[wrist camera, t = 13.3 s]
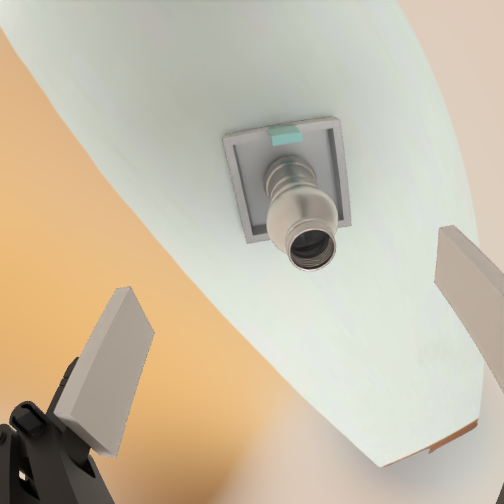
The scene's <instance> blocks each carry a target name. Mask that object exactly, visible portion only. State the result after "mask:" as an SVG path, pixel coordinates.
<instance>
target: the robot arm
mask: <svg viewBox="0 0 504 504" xmlns="http://www.w3.org/2000/svg"><path fill="white" fill-rule="evenodd" d="M434 283H435V284H436V285H437V287H438V288H439V290H440V291H441V292H442V294H443V295H444V297H445V298H446V300H447V301H448V302H449V304H450V305H451V307H452V308H453V310H454V311H455V313H456V314H457V316H458V317H459V319H460V320H461V322H462V323H463V325H464V327H465V328H466V330H467V331H468V333H469V334H470V336H471V338H472V339H473V341H474V342H475V344H476V346H477V347H478V349H479V351H480V352H481V354H482V356H483V357H484V359H485V361H486V362H487V364H488V366H489V368H490V369H491V371H492V373H493V374H494V377H495V378H496V380H497V382H498V384H499V386H500V388H501V389H502V391H503V393H504V274H503V273H502V272H501V271H500V270H499V268H498V267H497V266H496V265H495V264H494V263H493V262H492V261H491V260H490V259H489V258H488V257H487V256H486V255H485V254H484V253H483V252H482V251H481V250H480V249H479V248H478V247H477V246H476V245H475V244H474V243H473V242H471V241H470V240H469V239H468V238H467V237H466V236H465V235H464V234H463V233H462V232H461V231H460V230H459V229H457V228H456V227H455V226H454V225H451V226H446V227H441V228H439V236H438V250H437V261H436V271H435V280H434ZM154 334H155V332H154V330H153V329H152V327H151V325H150V323H149V321H148V319H147V317H146V315H145V313H144V312H143V310H142V308H141V306H140V304H139V302H138V300H137V298H136V296H135V294H134V292H133V290H132V288H131V286H129V287H123V288H117V289H116V290H115V292H114V294H113V295H112V297H111V299H110V301H109V303H108V304H107V306H106V308H105V310H104V311H103V313H102V315H101V317H100V319H99V321H98V322H97V324H96V326H95V328H94V330H93V332H92V334H91V335H90V338H89V339H88V341H87V343H86V345H85V347H84V349H83V351H82V353H81V355H80V357H76V358H75V359H74V361H73V362H72V363H71V364H70V365H69V366H68V368H67V370H66V372H65V374H64V376H63V377H64V379H62V380H61V382H60V387H58V389H57V391H56V393H55V395H54V397H53V400H52V401H51V404H50V406H49V408H48V410H47V412H46V414H44V413H43V412H42V411H41V410H40V409H39V408H38V407H37V406H36V405H35V404H34V403H33V402H31V401H25V402H22V403H20V404H19V405H18V406H17V407H15V409H14V410H13V412H12V413H11V416H10V421H9V423H10V425H11V426H12V427H13V428H15V429H16V430H17V431H16V432H15V431H14V430H13V429H12V428H11V427H10V426H9V425H7V424H1V425H0V504H115V503H114V501H113V499H112V497H111V495H110V493H109V492H108V490H107V487H106V485H105V483H104V481H103V479H102V477H101V475H100V473H99V471H98V468H97V466H96V464H95V462H94V460H93V458H92V457H91V455H89V451H90V448H92V449H93V450H94V451H96V452H97V453H98V454H99V455H103V456H110V457H117V454H118V451H119V447H120V443H121V440H122V436H123V433H124V429H125V426H126V422H127V418H128V415H129V412H130V408H131V405H132V402H133V399H134V395H135V392H136V389H137V385H138V382H139V379H140V376H141V373H142V370H143V367H144V364H145V361H146V358H147V355H148V352H149V349H150V346H151V343H152V340H153V337H154ZM19 471H21V472H22V473H23V474H25V480H23V479H21V478H20V477H19ZM496 504H504V484H503V486H502V489H501V492H500V495H499V497H498V500H497V502H496Z"/></svg>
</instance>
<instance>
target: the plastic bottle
mask: <svg viewBox="0 0 504 504" xmlns="http://www.w3.org/2000/svg"><path fill="white" fill-rule="evenodd" d="M264 190H265V193H266V195H267V197H268V199H269V200H270V207H269V210H268V214H267V221H266V227H267V232H268V235H269V237H270V239H271V241H272V242H273V243H274V245H275V246H276V247H277V248H278V249H279V250H280V251H282V252H283V253H285V254H287V255H288V257H289V259H290V261H291V262H292V264H293V265H294V266H295V267H297V268H298V269H300V270H303V271H315V270H319V269H321V268H323V267H325V266H326V265H327V264H328V263H329V262H330V261H331V260H332V259H333V257H334V255H335V252H336V242H335V239H334V236H335V234H336V230H337V225H338V212H337V208H336V206H335V204H334V202H333V201H332V199H331V198H330V197H329V196H328V195H327V194H326V193H325V192H324V191H323V190H321V189H320V188H319V187H318V186H317V178H316V174H315V171H314V169H313V167H312V166H311V165H310V164H309V163H308V162H307V161H305V160H304V159H301V158H298V157H294V156H287V157H282V158H280V159H278V160H276V161H275V162H274V163H273V164H272V165H271V166H270V167H269V169H268V170H267V172H266V174H265V177H264Z"/></svg>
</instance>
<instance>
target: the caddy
mask: <svg viewBox="0 0 504 504" xmlns="http://www.w3.org/2000/svg"><path fill="white" fill-rule="evenodd" d="M222 140H223V144H224V148H225V152H226V157H227V161H228V165H229V170H230V174H231V178H232V182H233V187H234V191H235V195H236V200H237V204H238V208H239V212H240V217H241V221H242V225H243V229H244V234H245V238H246V242H247V244H249V243H255V242H260V241H266V240H271V239H270V237H269V235H268V232H267V227H266V221H267V214H268V210H269V207H270V200H269V199H268V197H267V195H266V193H265V190H264V177H265V174H266V172H267V170H268V169H269V167H270V166H271V165H272V164H273V163H274V162H275V161H276V160H278V159H280V158H282V157H287V156H294V157H298V158H301V159H304V160H305V161H307V162H308V163H309V164H310V165H311V166H312V167H313V169H314V171H315V174H316V178H317V186H318V187H319V188H320V189H321V190H323V191H324V192H325V193H326V194H327V195H328V196H329V197H330V198H331V199H332V201H333V202H334V204H335V206H336V208H337V212H338V225H337V228H341V227H347V226H352V225H351V212H350V200H349V189H348V180H347V170H346V162H345V153H344V145H343V138H342V131H341V124H340V119H338V118H335V117H324V118H316V119H309V120H302V121H296V122H289V123H283V124H277V125H271V126H266V127H260V128H255V129H250V130H245V131H240V132H235V133H230V134H226V135H225V136H224V137H223V139H222Z"/></svg>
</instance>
